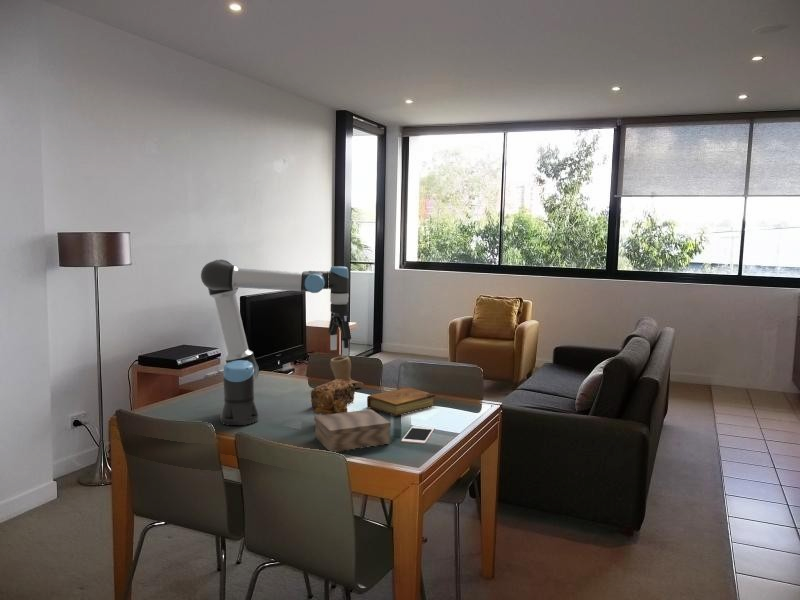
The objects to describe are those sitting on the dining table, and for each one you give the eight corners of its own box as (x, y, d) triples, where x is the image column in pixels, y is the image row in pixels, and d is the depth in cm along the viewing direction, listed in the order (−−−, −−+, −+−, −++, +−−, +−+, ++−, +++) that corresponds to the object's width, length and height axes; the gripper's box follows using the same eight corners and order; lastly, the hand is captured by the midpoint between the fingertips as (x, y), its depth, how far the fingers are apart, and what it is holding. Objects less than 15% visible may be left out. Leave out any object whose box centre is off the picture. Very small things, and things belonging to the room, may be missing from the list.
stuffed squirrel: (322, 418, 260) (322, 386, 258) (354, 422, 255) (354, 390, 253) (311, 425, 250) (310, 392, 249) (343, 429, 246) (343, 396, 244)
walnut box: (330, 453, 220) (329, 430, 219) (314, 437, 236) (314, 416, 235) (390, 444, 229) (390, 422, 228) (371, 429, 246) (371, 409, 245)
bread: (337, 398, 291) (337, 376, 290) (356, 401, 285) (355, 380, 284) (309, 407, 276) (309, 385, 275) (328, 411, 270) (328, 388, 269)
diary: (405, 399, 292) (405, 386, 292) (435, 407, 279) (435, 394, 278) (367, 407, 277) (367, 394, 276) (396, 417, 263) (396, 403, 262)
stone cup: (325, 386, 313) (325, 356, 311) (344, 382, 321) (344, 353, 319) (344, 392, 302) (344, 361, 300) (363, 388, 309) (363, 357, 308)
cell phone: (434, 429, 247) (434, 427, 247) (424, 445, 229) (424, 442, 229) (412, 428, 249) (412, 425, 249) (400, 442, 232) (400, 440, 231)
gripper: (359, 306, 259) (359, 357, 262) (337, 299, 282) (336, 347, 284) (342, 306, 256) (341, 358, 258) (321, 300, 278) (321, 348, 281)
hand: (339, 352), depth 271 cm, fingers open, 13 cm apart
